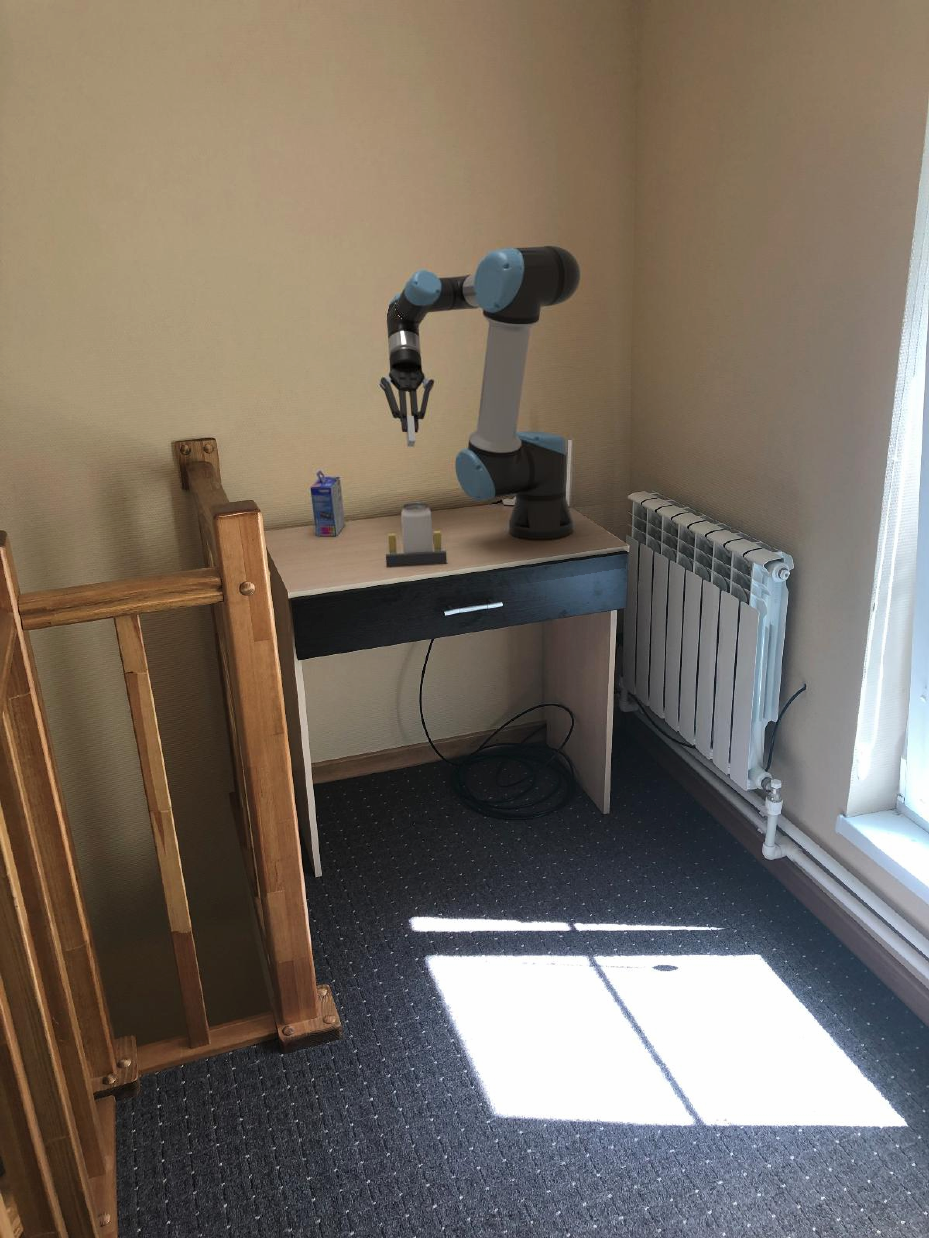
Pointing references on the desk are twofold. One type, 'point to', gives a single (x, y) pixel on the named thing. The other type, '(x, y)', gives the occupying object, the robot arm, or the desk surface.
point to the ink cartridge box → (327, 505)
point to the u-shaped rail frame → (416, 554)
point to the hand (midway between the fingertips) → (411, 443)
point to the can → (416, 528)
